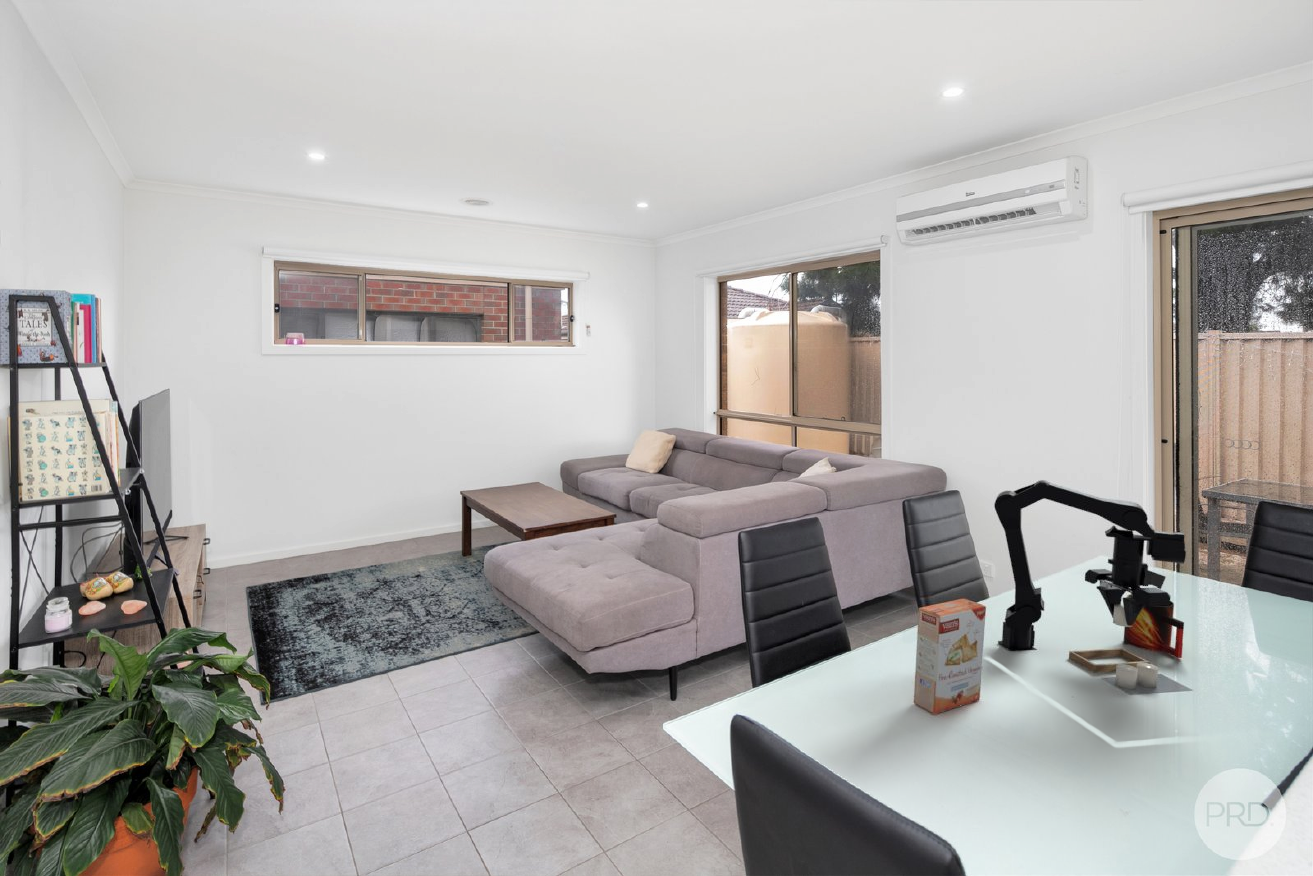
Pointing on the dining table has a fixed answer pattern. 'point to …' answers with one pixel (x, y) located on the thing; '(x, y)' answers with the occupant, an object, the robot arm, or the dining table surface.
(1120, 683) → the white rounded stone
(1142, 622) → the mug
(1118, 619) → the pebble
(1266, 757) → the dining table surface
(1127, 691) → the slate board
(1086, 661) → the walnut bin
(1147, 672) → the pebble
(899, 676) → the dining table surface
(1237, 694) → the dining table surface
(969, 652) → the cracker box
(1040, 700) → the dining table surface
